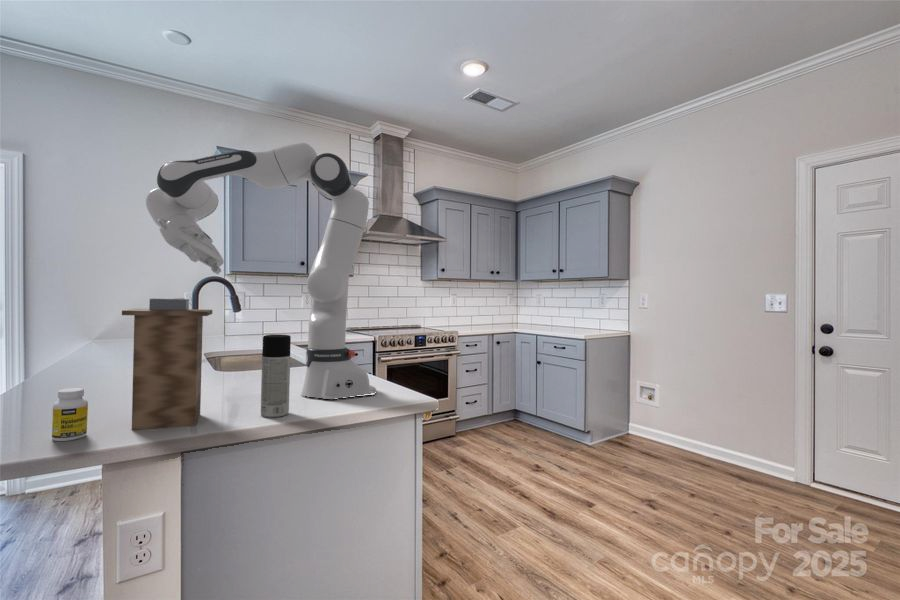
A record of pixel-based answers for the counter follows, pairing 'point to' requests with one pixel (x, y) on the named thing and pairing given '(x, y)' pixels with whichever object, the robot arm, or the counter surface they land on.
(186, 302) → the dark grey flat block
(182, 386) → the pedestal
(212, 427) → the counter surface
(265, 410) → the spray can
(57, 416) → the supplement bottle
